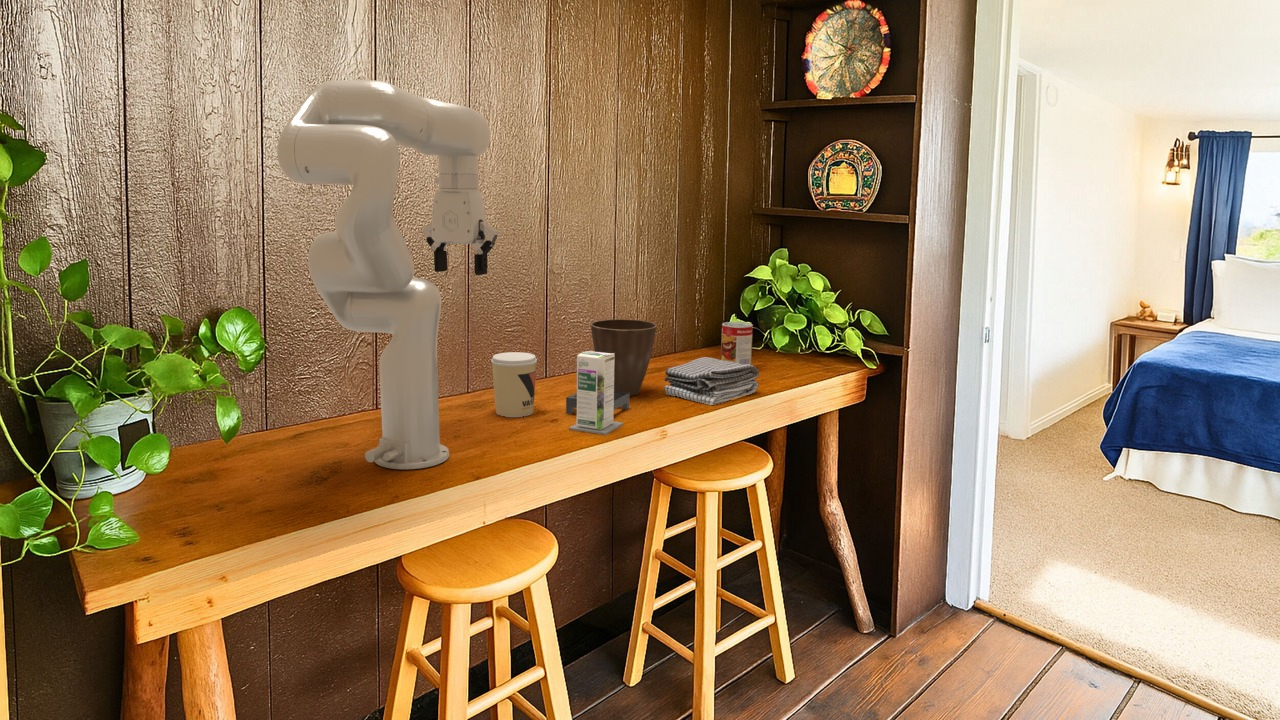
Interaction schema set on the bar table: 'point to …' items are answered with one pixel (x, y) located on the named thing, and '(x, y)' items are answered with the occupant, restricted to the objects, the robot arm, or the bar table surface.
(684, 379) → the towel
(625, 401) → the collar stand
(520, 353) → the coffee cup
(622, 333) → the plant pot
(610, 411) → the syrup box
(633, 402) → the bar table surface
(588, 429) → the slate mat
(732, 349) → the canned food
